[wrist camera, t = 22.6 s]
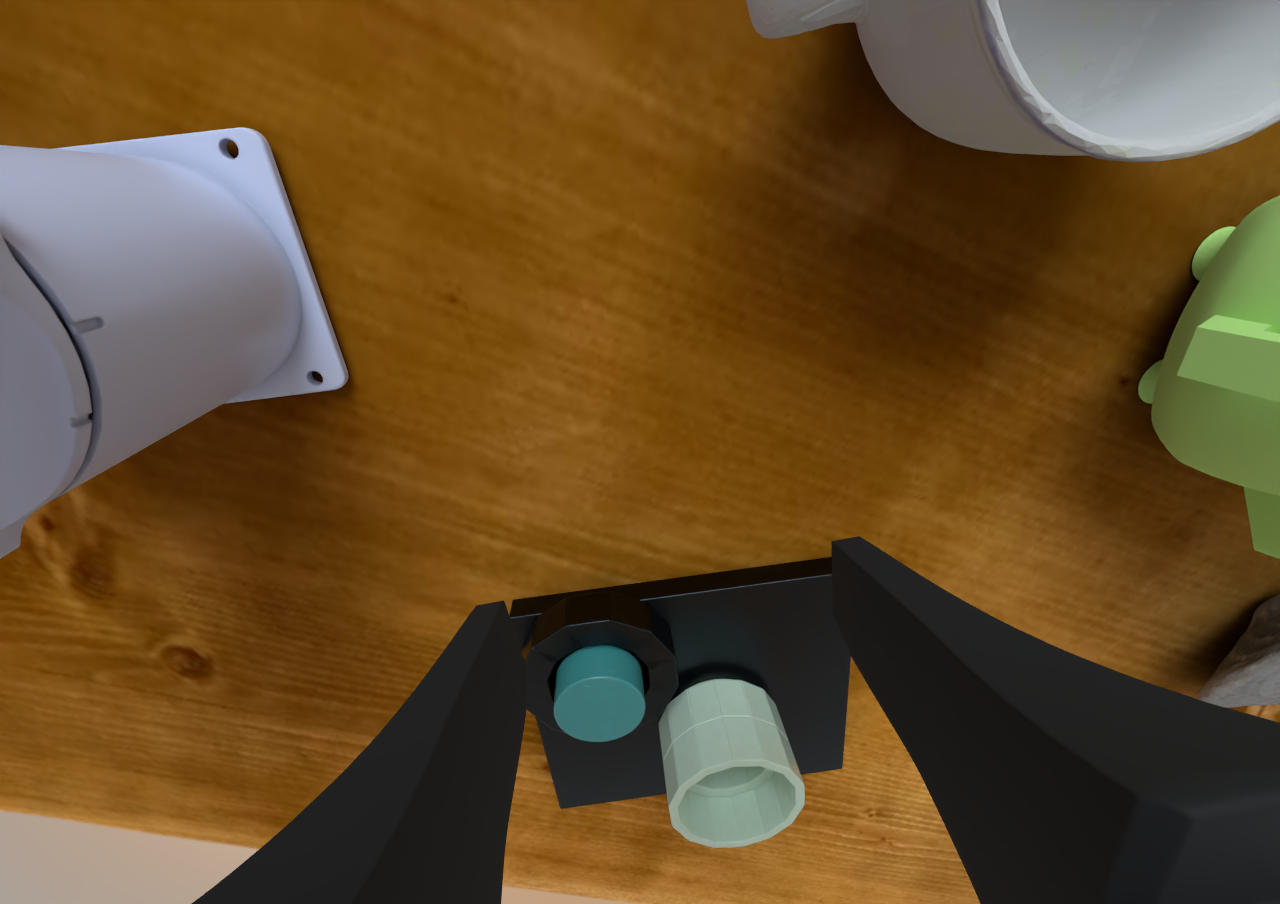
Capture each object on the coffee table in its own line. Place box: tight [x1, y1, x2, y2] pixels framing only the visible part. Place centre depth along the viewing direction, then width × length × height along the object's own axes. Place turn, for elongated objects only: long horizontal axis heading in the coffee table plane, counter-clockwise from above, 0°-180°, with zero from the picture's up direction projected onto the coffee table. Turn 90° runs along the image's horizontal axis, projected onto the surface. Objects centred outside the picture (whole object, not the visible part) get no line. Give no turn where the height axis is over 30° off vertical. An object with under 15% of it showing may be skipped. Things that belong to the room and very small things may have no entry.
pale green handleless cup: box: [659, 679, 805, 848], centre depth 25 cm, size 6×6×4 cm
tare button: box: [554, 645, 645, 742], centre depth 22 cm, size 4×4×2 cm
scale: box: [510, 557, 851, 809], centre depth 26 cm, size 15×14×3 cm
